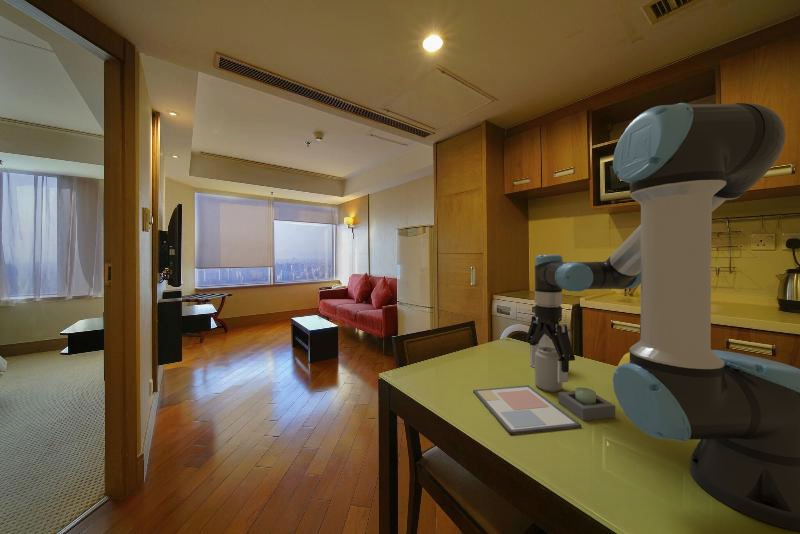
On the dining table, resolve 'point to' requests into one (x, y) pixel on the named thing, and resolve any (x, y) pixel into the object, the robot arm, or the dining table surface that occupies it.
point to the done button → (585, 396)
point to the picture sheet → (524, 410)
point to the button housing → (586, 407)
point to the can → (547, 369)
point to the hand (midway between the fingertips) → (547, 372)
